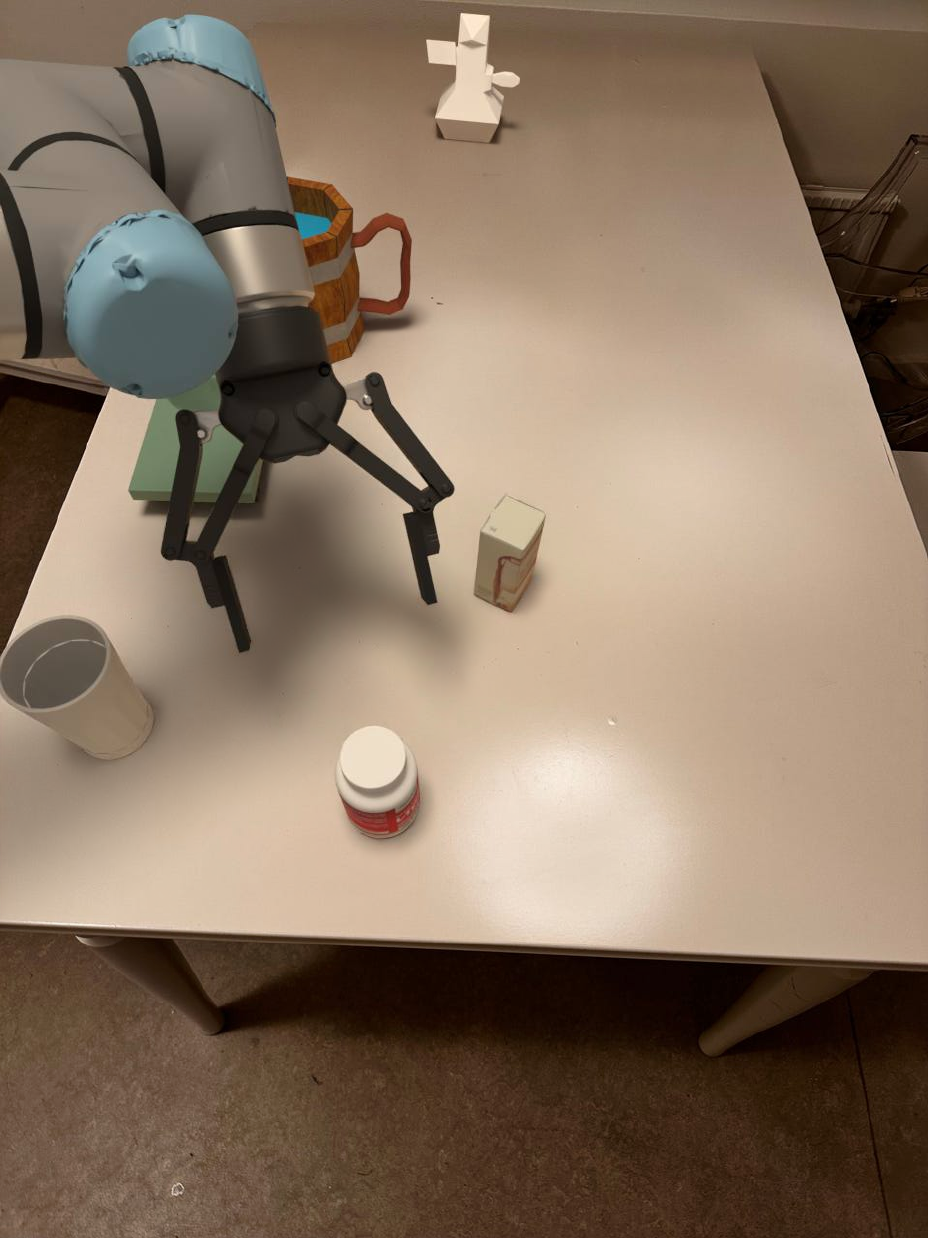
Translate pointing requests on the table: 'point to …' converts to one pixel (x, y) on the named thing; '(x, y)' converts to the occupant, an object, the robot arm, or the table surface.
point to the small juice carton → (508, 551)
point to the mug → (341, 262)
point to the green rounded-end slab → (164, 446)
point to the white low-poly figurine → (470, 83)
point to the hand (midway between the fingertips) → (339, 623)
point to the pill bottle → (378, 781)
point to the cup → (76, 686)
